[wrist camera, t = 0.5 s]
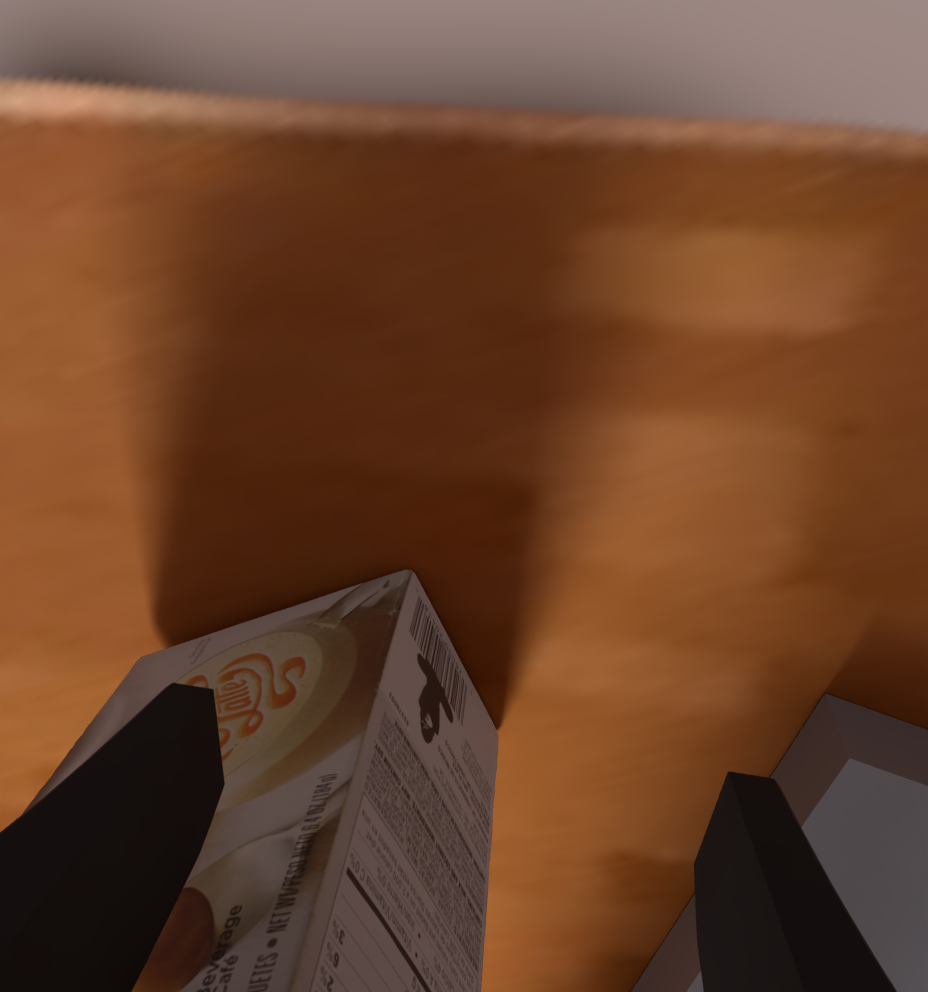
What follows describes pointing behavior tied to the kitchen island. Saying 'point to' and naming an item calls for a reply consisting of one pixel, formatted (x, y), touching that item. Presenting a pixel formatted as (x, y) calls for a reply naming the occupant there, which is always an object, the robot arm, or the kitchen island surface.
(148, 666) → the coffee box
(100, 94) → the kitchen island surface
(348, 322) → the kitchen island surface
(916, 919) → the button panel
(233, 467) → the kitchen island surface
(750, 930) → the robot arm
